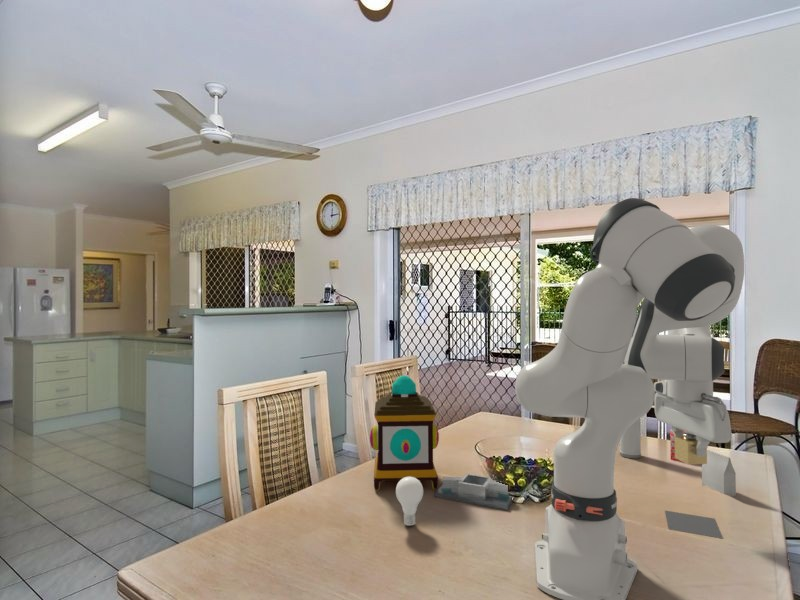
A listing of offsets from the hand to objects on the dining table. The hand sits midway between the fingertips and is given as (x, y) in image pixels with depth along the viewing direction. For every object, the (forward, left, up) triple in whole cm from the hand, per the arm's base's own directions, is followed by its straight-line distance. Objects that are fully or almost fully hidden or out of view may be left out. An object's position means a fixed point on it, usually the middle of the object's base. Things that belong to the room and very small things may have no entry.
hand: (690, 451), depth 104 cm
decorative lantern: (-1, +71, -17) cm, 73 cm away
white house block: (+26, -9, -17) cm, 33 cm away
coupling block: (0, 0, -2) cm, 2 cm away
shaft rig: (-4, +49, -17) cm, 52 cm away
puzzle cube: (+53, -4, -17) cm, 56 cm away
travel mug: (+48, +12, -17) cm, 52 cm away
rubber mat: (0, 0, -17) cm, 17 cm away
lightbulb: (-26, +58, -17) cm, 66 cm away
